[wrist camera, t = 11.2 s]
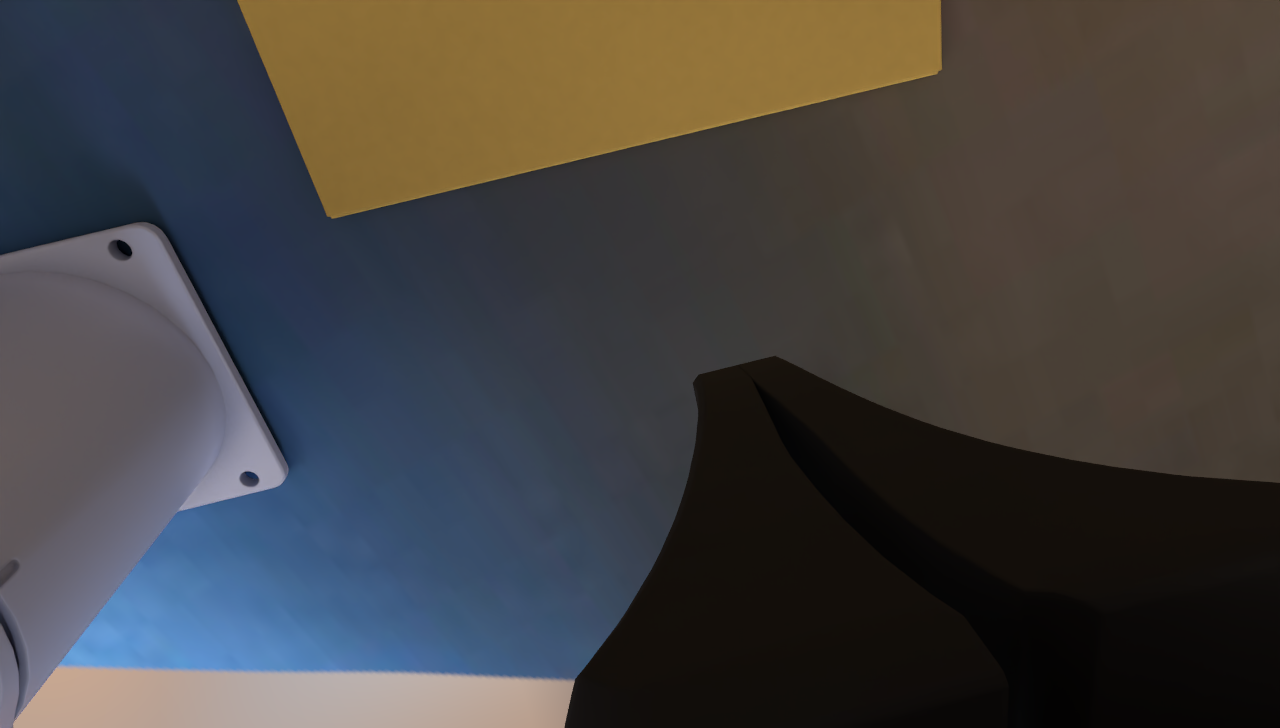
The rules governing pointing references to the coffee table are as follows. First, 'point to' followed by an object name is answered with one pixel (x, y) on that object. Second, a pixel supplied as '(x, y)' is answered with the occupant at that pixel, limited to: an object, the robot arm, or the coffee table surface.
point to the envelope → (554, 78)
